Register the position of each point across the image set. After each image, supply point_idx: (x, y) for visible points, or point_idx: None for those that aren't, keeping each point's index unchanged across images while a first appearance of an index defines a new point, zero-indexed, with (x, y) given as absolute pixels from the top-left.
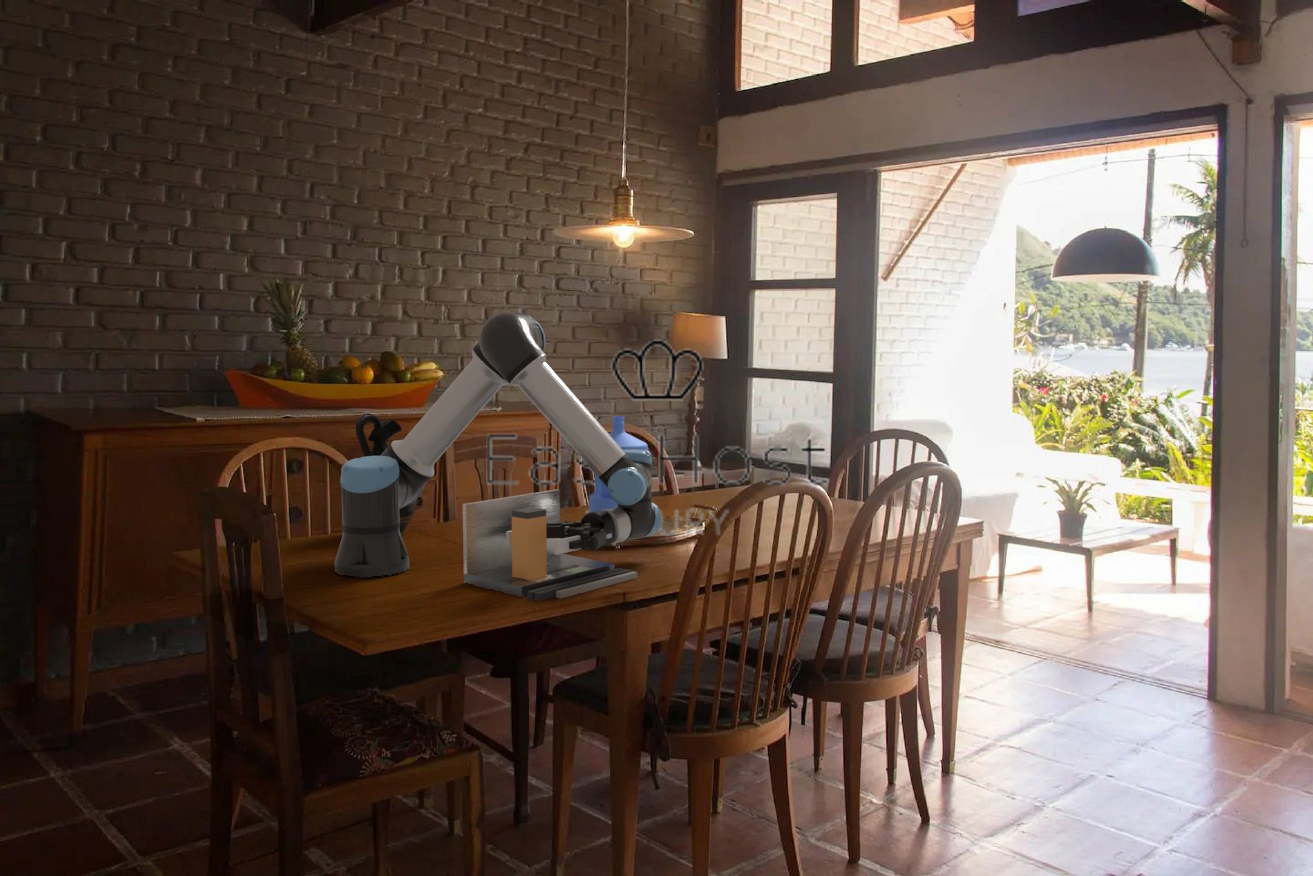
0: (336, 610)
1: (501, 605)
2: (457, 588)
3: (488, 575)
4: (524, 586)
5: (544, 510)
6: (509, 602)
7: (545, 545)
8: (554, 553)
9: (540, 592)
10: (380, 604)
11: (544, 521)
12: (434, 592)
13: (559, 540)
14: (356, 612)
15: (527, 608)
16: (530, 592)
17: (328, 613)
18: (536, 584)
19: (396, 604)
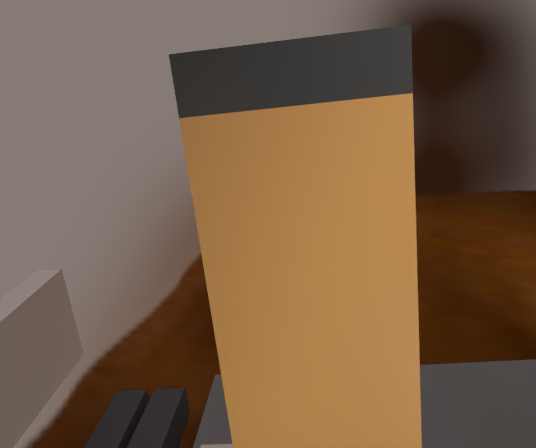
0: (464, 206)
1: (214, 340)
2: (529, 354)
3: (509, 390)
4: (212, 385)
5: (175, 59)
6: (216, 363)
7: (223, 367)
8: (78, 348)
9: (121, 403)
10: (459, 235)
11: (192, 166)
12: (510, 306)
13: (21, 282)
14: (425, 214)
15: (119, 361)
16: (165, 390)
17: (451, 200)
18: (197, 440)
19: (436, 246)
